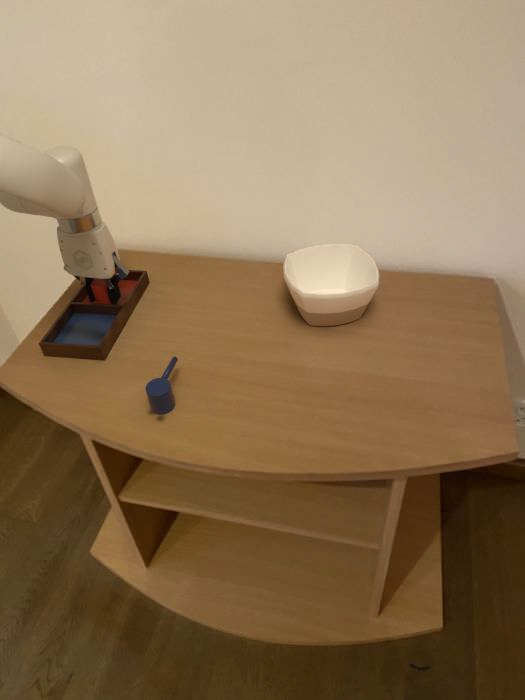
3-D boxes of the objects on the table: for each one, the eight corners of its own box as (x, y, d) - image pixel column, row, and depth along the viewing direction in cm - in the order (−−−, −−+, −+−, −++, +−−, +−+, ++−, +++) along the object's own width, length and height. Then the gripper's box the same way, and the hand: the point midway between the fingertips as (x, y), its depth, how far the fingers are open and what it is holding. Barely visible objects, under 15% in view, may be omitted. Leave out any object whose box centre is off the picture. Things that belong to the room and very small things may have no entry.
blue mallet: (169, 416, 82) (164, 397, 79) (147, 412, 83) (141, 393, 80) (190, 375, 89) (186, 356, 86) (169, 372, 90) (164, 353, 87)
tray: (104, 360, 93) (100, 347, 91) (44, 355, 95) (38, 343, 93) (149, 282, 112) (146, 270, 110) (98, 280, 114) (94, 268, 112)
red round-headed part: (110, 306, 103) (104, 288, 100) (92, 304, 104) (86, 286, 101) (130, 280, 110) (125, 262, 107) (114, 278, 111) (108, 261, 108)
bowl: (276, 288, 107) (274, 249, 101) (358, 277, 108) (361, 237, 102) (294, 342, 94) (293, 301, 87) (387, 328, 95) (392, 287, 89)
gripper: (27, 225, 92) (60, 306, 104) (110, 232, 88) (134, 315, 100) (50, 206, 97) (79, 285, 110) (129, 212, 93) (150, 293, 106)
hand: (105, 299), depth 105 cm, fingers closed on red round-headed part, 4 cm apart
